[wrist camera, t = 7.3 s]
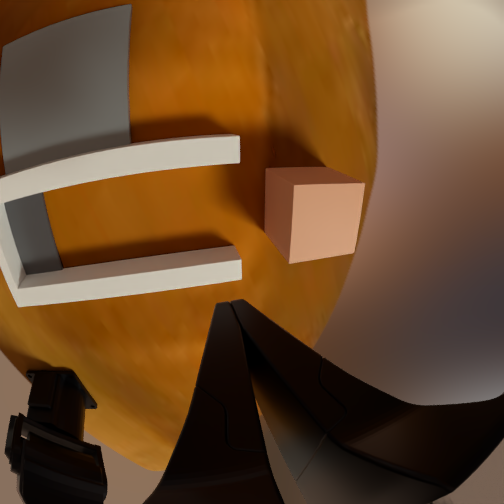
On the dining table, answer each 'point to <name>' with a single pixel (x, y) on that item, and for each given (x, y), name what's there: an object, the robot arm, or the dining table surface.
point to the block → (312, 212)
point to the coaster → (66, 89)
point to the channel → (110, 273)
